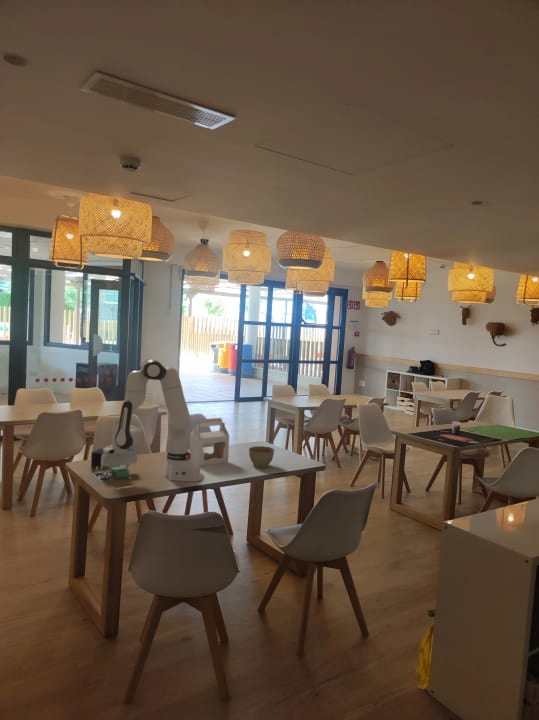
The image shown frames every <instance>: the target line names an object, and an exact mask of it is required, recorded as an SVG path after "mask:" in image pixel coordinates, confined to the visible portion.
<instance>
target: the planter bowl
mask: <svg viewBox="0 0 539 720" xmlns="http://www.w3.org/2000/svg"><path fill="white" fill-rule="evenodd" d="M274 454H275V449H274V448H273V447H270V446H260V445H259V446H258V445H257V446H251V447H249V448H248V455H249V458H250V460H251V462H252V465H253V467H256V468H261V469H263V468H268V467H269V466H270V464H271V462H272V461H273V457H274Z"/></svg>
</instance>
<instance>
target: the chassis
mask: <svg viewBox="0 0 539 720" xmlns="http://www.w3.org/2000/svg"><path fill="white" fill-rule="evenodd" d="M90 474H91V475H93V477H95V479H98V481H100V482H101V483H103V484H105V483H112V482H118V481H125V480H132V479H133V477H132V476H130V475H129V476H126V477H119V478H117V477H116V476H115V475H113V474H111V473H110V472H109V469H107V470H103V468H102V466H101V469H98V466H97V467H96V469H95V471H94V472H91V473H90Z"/></svg>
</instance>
